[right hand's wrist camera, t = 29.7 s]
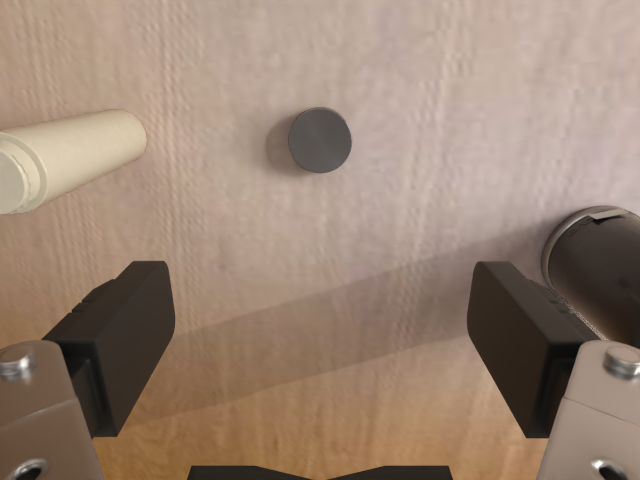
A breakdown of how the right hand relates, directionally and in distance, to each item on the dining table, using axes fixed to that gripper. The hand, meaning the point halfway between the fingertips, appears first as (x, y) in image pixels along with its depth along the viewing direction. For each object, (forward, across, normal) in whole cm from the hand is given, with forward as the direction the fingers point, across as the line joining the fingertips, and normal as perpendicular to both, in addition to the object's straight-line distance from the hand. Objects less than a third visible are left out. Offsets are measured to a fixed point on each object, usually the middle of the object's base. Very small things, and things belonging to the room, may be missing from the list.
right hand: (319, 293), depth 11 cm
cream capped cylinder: (+26, +17, 0) cm, 31 cm away
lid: (+25, 0, 0) cm, 25 cm away
